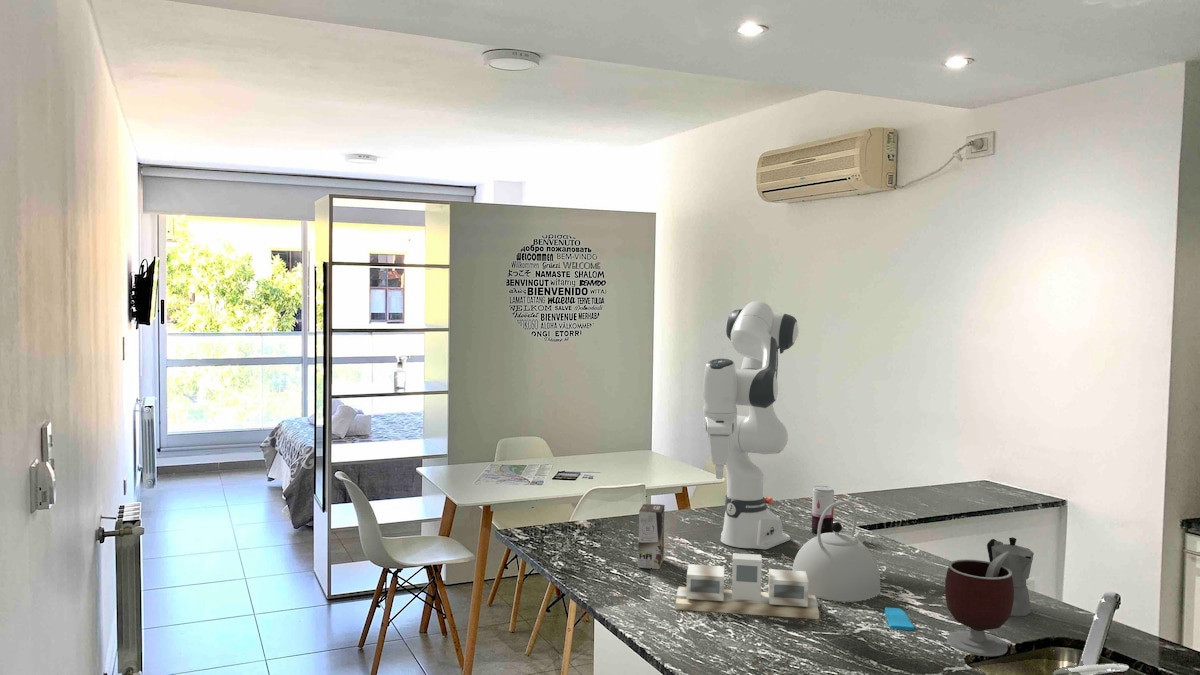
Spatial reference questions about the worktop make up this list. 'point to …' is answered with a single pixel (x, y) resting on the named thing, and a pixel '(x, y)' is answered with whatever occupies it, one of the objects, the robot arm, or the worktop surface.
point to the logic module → (746, 576)
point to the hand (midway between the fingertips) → (719, 473)
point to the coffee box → (651, 536)
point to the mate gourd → (979, 603)
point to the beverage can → (822, 508)
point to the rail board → (780, 600)
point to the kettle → (838, 564)
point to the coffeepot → (1015, 571)
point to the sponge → (898, 619)
